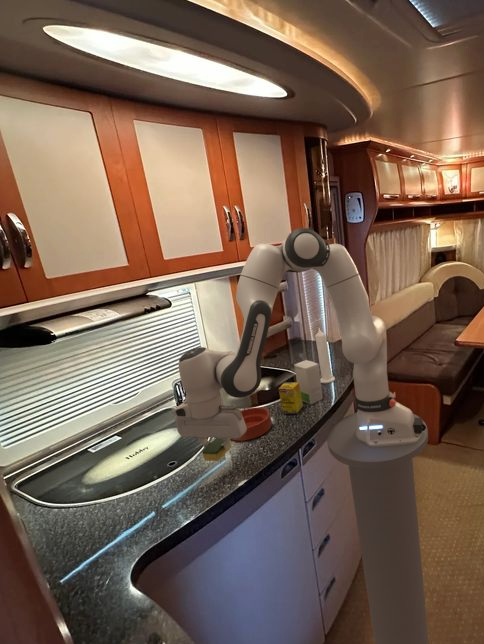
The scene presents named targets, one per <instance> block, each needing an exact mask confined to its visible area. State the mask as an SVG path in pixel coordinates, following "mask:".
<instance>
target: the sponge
mask: <svg viewBox="0 0 484 644" xmlns="http://www.w3.org/2000/svg"><path fill="white" fill-rule="evenodd" d="M210 442H211V443H210V444H209V445H208V446H207V447H206V448H205V449H204V448H203V450H202V451H201V452H202V456H203V459H204V461H207V462H210V461H211V462H219V461H220V460H221V459H222V458H223V457H224V456H225V455H226V454H227V452H228V451H229V450H231V448H232V443H231V440H230V441H229V445H230V448H229V449H228V450H222V447H221V445H222V444H223V443H224V442H225V440H223V439H222V438H214V440H212V441H210Z"/></svg>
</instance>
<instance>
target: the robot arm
mask: <svg viewBox="0 0 484 644" xmlns="http://www.w3.org/2000/svg"><path fill="white" fill-rule="evenodd" d="M311 269H312V270H314V271H315V272H316V273H317V274H318V275H319V277H320V278H321V280H322V282H323V285H324V288H325V290H326V293H327V295H328V297H329V299H330V302H331V305H332V307H333V309H334V312H335V316H336V320H337V321H336V322H337V325H338V329H339V330H338V331H339V334H340V338H341V350H342V354H343V356H344V357H345V359H346V360H347V361H348V362H350V363H352V364H353V368H352V369H353V370H352V378H353V386H354V393H355V395H354V404H355V405H354V407H355V411H356V412H357V430H356V436H357V438H358V439H359V440H361V441H363V442H365V443H366V444H367V445H368V446H369V447H383V446H394V445H405V444H415V443H417V442H418V441H419V440H420V439H421V437H422V433H423V431H424V430H425V429H426V426H427V425H426V426H425V425H424V424H423V421H424V420H423V417H420V418H414V415H413V414H414V413H413V411H412V410H411V408H409V407H407V406H405V405H403V404H401V403H400V402H398V401H397V397H396V391H394V392H392V391H390V387H389V379H388V344H387V343H388V342H387V326H386V323H385V321H384V320H383V319H381V318H380V317H379V316H377V315H372V311H371V307H370V299H369V295H368V293H367V291H366V288H365V285H364V283H363V281H362V278H361V276H360V273H359V271H358V268H357V266H356V264H355V262H354V260H353V258H352V256H351V255H350V253H349V252H348V249H347V248H346V247H345V246H344V245H343V244H340V243H331V244H330V243H329V242H327V241H326V240H325V239H324V238H322V236H320V234H319V233H317V232H316V231H315V230H313V229H310V228H306V227H301V228H296V229H294V230H293V231H291V232H289V234H288V235H287V236H286V237H285V239H284V240H283V241H282V243H281V244H280V245H273V244H270V243H258V244H256V245H255V246H254V247H253V248H252V250H251V251H250V253H249V255H248V257H247V258H246V261H245V263H244V265H243V268H242V270H241V273H240V276H239V279H238V282H237V285H236V292H235V299H236V301H235V302H236V303H237V305H238V307H239V309H240V311H241V314H242V318H243V328H242V332H241V336H240V340H239V342H238V343H239V344H238V348H237V350H236V351H237V352H235V351H229V350H228V351H219V350H213V349H209V348H207V347H204V346H200V347H196V348H191V349H189V350H187V351H186V352H184V353H183V354H182V355H181V356H180V357H179V360H178V372H179V378H180V382H181V386H182V388H183V390H184V391H185V394H186V395H185V399H186V400H185V401H184V402H182V403H180V404H179V405H178V406H177V407H175V408H174V409H173V410H172V412H173V415H174V417H175V418H174V419H175V420H174V421H175V426H176V430H177V432H178V435H180V436H181V437H182V438H197V441H198V442H199V443H200V444H201V445H202V446H203V450H204V449H205V448H206V447H207V446H208V445H209V444H210V443H211V442H212V441H209V440H208V439H207V438H212V439H213V438H214V439H216V438H222V439H223V440H225V442H224V443H223V444H222V445H221V447H222V450H228V449H229V448H230V445H229V441H230V442H231V439H230V438H240V437H242V436H243V435H244V433H245V432H246V430H247V428H246V424H245V421H244V419H243V416H242V413H241V410H242V409H240V408H239V407H237V406H236V405H224V403H223V398H222V394H221V389H223V390H224V392H225V393H226V394H227V395H228V396H230V397H233V398H236V399H243V398H247V397H249V396H252V394H254V393H255V392H256V391H257V390H258V389H259V386H260V385H261V382H262V367H261V366H262V365H261V363H262V358H263V353H264V348H265V345H266V341H267V338H268V334H269V328H270V324H271V318H272V313H273V309H274V304H275V302H276V298H277V295H278V292H279V290H280V285H281V282H282V280H283V278H284V276H285V274H286V273H303V272H307V271H309V270H311ZM230 449H231V448H230ZM230 449H229V450H230ZM229 450H228V451H229Z"/></svg>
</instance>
